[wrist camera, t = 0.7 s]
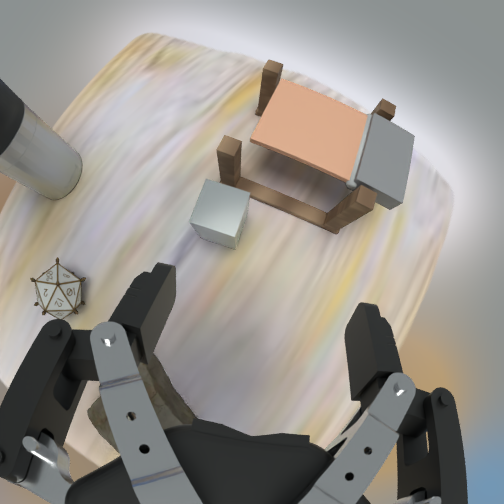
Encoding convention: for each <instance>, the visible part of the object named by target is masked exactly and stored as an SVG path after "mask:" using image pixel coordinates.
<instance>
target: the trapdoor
mask: <svg viewBox="0 0 504 504" xmlns="http://www.w3.org/2000/svg"><path fill="white" fill-rule="evenodd" d="M414 137H415V136H414V135H412V134H411V133H409V132H408V131H406V130H404V129H402V128H400V127H399V126H397V125H396V124H394V123H392V122H390V121H389V120H387V119H385V118H383V117H381V116H380V115H378V114H376V113H374V114H373V115H371V114H364V113H362V112H360V111H358V110H356V109H354V108H352V107H349V106H347V105H345V104H343V103H341V102H339V101H337V100H334V99H332V98H330V97H327V96H325V95H323V94H320V93H318V92H316V91H313V90H311V89H308V88H306V87H303V86H301V85H298V84H295V83H293V82H290V81H287V80H284V79H281V80H280V82H279V84H278V86H277V88H276V90H275V91H274V93H273V95H272V97H271V99H270V101H269V103H268V105H267V107H266V109H265V110H264V112H263V114H262V116H261V118H260V120H259V122H258V124H257V126H256V128H255V130H254V132H253V134H252V136H251V138H250V142H252V143H254V144H257V145H260V146H262V147H265V148H267V149H270V150H273V151H275V152H278V153H280V154H283V155H285V156H287V157H290V158H292V159H295V160H297V161H299V162H302V163H304V164H306V165H309V166H311V167H313V168H315V169H318V170H320V171H322V172H324V173H326V174H329V175H331V176H333V177H335V178H337V179H339V180H341V181H344V182H346V186H347V188H348V189H350V190H352V191H354V190H355V189H357V188H358V187H359V186H360V185H362V186H364V187H366V188H368V189H370V190H372V191H374V192H376V193H377V196H376V200H375V202H376V203H378V204H380V205H382V206H384V207H386V208H387V209H389V210H391V209H392V208H394V207H396V206H398V205H400V204H402V203H403V199H404V194H405V189H406V184H407V179H408V174H409V168H410V163H411V157H412V150H413V143H414Z"/></svg>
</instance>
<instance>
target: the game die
mask: <svg viewBox="0 0 504 504" xmlns="http://www.w3.org/2000/svg"><path fill="white" fill-rule="evenodd" d="M30 279H31V281H32V282H35V286H36V294H37V301H38V302H36V303H35V304H34V306H37V305H38V304H39V305H40V306H41V307H42V308H43V310H44V311H43V312H42V315H45V314H46V312H47V313H49V314H50V315H52V316H54V317H56V318H57V319H64V318H65V317H67V316H68V315H69V314H71V313H72V312H73V311H74V313H75V314H78V311H77V310H76V308H77V307H78V306H79V305H80V303H81V304H83V305H85V302H83V301H81V282H82V281H85V279H86V278H84V277H83V278H81V279H79V278H78V277H76V276H75V275H74V272H70V271H68V270H67V269H65V268H64V267H63V266H62V265H60V264H59V258H58V257H57V259H56V264H55V265H54V266H52V267H51V268H50V269H49V270H47V271H46V272H44V273H43V274H42V275H41V276H40V277H39V278H37V279H36V280H35V279H34V278H30Z"/></svg>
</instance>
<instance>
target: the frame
mask: <svg viewBox="0 0 504 504" xmlns="http://www.w3.org/2000/svg"><path fill="white" fill-rule="evenodd" d="M282 68H283V64H281V63H278V62H275V61H272V60H268V61H267V63H266V65H265V66H264V68H263V73H262V81H261V89H260V97H259V104H258V108H257V110H256V114H255V115H258V116H262V114H263V112H264V110H265V109H266V107H267V105H268V103H269V101H270V99H271V97H272V95H273V93H274V91H275V90H276V88H277V86H278V84H279V82H280V77H281V72H282ZM395 109H396V106H395V105H393V104H392V103H390V102H388V101H386V100H384V99H382V100H381V101H380V102H379V104H378V105H377V106H376V108H375V109H374V110H373V112H372V113H371V115H373V114H374V113H376V114H378V115H380V116H381V117H383V118H385V119H387V120H389V121H391V119H392V118H393V117H394V114H395ZM241 145H242V141H240V140H237V139H234V138H231V137H229V136H226V135H224V137H223V139H222V141H221V143H220V145H219V146H218V148H217V156H218V163H219V170H220V178H221V181H220V183H221V184H225V185H228V186H231V187H234V188H237V189H240V190H243V191H247V192H250V197H251V198H253V199H255V200H258V201H260V202H263V203H265V204H268V205H270V206H272V207H275V208H277V209H280V210H282V211H284V212H287V213H289V214H291V215H294V216H296V217H298V218H301V219H303V220H305V221H308V222H310V223H312V224H314V225H317V226H319V227H321V228H323V229H326V230H328V231H330V232H332V233H335V234H338V233H339V230H340V229H341V228H342V227H344V226H346V225H348V224H349V223H351V222H353V221H354V220H356V219H358V218H360V217H361V216H363V215H365V214H366V213H368V212H370V211H372V210H373V207H374V203H375V200H376V196H377V193H376V192H374V191H372V190H370V189H368V188H366V187H364V186H362V185H360V186H359V187H358V188H357V189H355V190H354V191H353V192H352V193H351V194H350V195H348V196H347V197H346V198H345V199H344V200H342V201H341V202H340V203H339V204H338V205H336V206H335V207H334V208H333V209H332V210H330V211H329V212H328V213H326V212H324V211H321V210H319V209H317V208H315V207H312V206H310V205H308V204H306V203H303V202H301V201H299V200H296V199H294V198H292V197H289V196H287V195H285V194H282V193H280V192H277V191H275V190H273V189H270V188H268V187H265V186H263V185H260V184H258V183H255V182H253V181H250V180H248V179H245V178H243V177H240V171H241Z"/></svg>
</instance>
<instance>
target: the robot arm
mask: <svg viewBox="0 0 504 504" xmlns="http://www.w3.org/2000/svg"><path fill="white" fill-rule="evenodd" d="M81 170H82V161H81V158H80V155H79V154H78V153H77V152H76V151H75V150H74V149H73V148H72V147H71V146H70V145H68V144H67V143H66V142H65V141H64V140H63V139H62V138H61V137H60V136H59V135H58V134H57V133H56V132H55V131H53V130H52V129H51V128H50V127H49V126H48V125H47V124H46V123H45V122H44V121H43V120H42V119H41V118H40V117H39V116H38V115H37V114H35V113H34V112H33V111H32V110H31V109H30V108H29V107H28V106H27V105H26V104H25V103H24V102H23V101H22V100H21V99H20V98H19V97H18V96H17V95H16V94H15V93H14V92H13V91H12V90H11V89H10V88H9V87H8V86H7V85H6V84H5V83H4V82H3V81H2V80H1V79H0V172H1V173H2V174H4V175H6V176H8V177H10V178H12V179H13V180H15V181H17V182H19V183H21V184H23V185H24V186H26V187H28V188H30V189H32V190H34V191H36V192H37V193H39V194H41V195H43V196H45V197H47V198H49V199H53V200H56V199H60V198H63V197H64V196H66V195H67V194H68V193H69V192H70V191H71V190H72V189H73V188H74V187H75V185H76V183H77V182H78V180H79V177H80V174H81ZM175 297H176V268H175V266H173V265H168V264H164V263H159V262H158V263H157V264H156V265H155V267H154V269H153V270H152V272H151V273H149V272H145V271H144V272H143V273H141V274H140V275H139V276H137V277H136V278H135V279H134V280H133V282H132V284H131V285H130V288H128V290H127V291H126V293H125V295H124V296H123V298H122V299H121V301H120V303H119V304H118V306H117V307H116V309H115V311H114V312H113V314H112V316H111V317H110V319H109V320H108V322H103V323H100V324H99V325H97V326H96V327H95V328H94V329H93V330H73V329H71V327H70V325H69V323H68V322H66V321H65V320H62V319H54V320H51V321H49V322H47V323H46V324H45V325H44V326H43V328H42V329H41V331H40V332H39V334H38V336H37V337H36V339H35V341H34V342H33V344H32V346H31V348H30V349H29V351H28V353H27V355H26V356H25V358H24V360H23V362H22V364H21V365H20V367H19V369H18V371H17V373H16V375H15V377H14V379H13V381H12V383H11V385H10V387H9V389H8V391H7V393H6V395H5V397H4V400H3V402H2V404H1V406H0V477H1V478H4V479H6V480H7V481H8V482H11V483H13V484H15V485H18V486H20V487H23V488H25V489H27V490H29V491H31V492H32V493H34V494H36V495H37V496H39V497H41V498H42V499H44V500H46V501H48V502H50V503H51V504H370V502H369V501H368V500H367V499H366V497H365V496H364V495H363V493H364V492H365V490H366V489H367V487H368V486H369V485H370V483H371V482H372V480H373V479H374V477H375V476H376V474H377V473H378V471H379V470H380V468H381V466H382V465H383V463H384V461H385V460H386V459H387V457H388V455H389V454H390V452H391V450H392V448H393V447H394V445H395V443H397V467H398V496H397V501H396V502H395V503H394V504H468V500H467V499H468V497H467V480H466V467H465V458H464V450H463V443H462V436H461V430H460V424H459V419H458V414H457V409H456V404H455V400H454V397H453V396H452V394H451V393H450V392H449V391H448V390H447V389H445V388H441V387H440V388H436V389H435V390H434V391H433V392H431V393H428V392H425V391H423V390H420V389H417V388H415V385H414V383H413V381H412V380H411V378H410V377H408V376H407V375H405V374H403V371H402V367H401V363H400V358H399V355H398V351H397V347H396V346H395V344H396V343H395V339H394V338H393V337H394V336H393V332H392V329H391V326H390V325H389V323H388V322H387V320H386V319H385V318H384V317H381V316H380V312H379V309H378V306H377V305H375V304H369V303H362V302H361V303H359V304H358V306H357V308H356V310H355V312H354V314H353V315H352V317H351V319H350V321H349V323H348V324H347V327H346V330H345V346H346V354H347V362H348V371H349V381H350V391H351V400H352V401H360V402H361V406H360V407H359V408H358V409H357V411H356V412H355V414H354V415H353V416H352V418H351V419H350V420H349V422H348V423H347V424H346V426H345V427H344V428H343V429H342V431H341V432H340V433H339V435H338V436H337V437H336V438H335V439H334V440H333V441H332V442H331V443H330V444H329V445H328V446H327V447H326V448H325V449H323V448H321V447H319V446H318V445H315V444H313V443H310V442H309V437H310V435H297V434H285V433H279V434H271V435H261V436H249V435H247V434H244V433H242V432H239V431H237V430H234V429H232V428H230V427H227V426H225V425H223V424H218V423H214V422H209V421H204V420H200V419H196V418H193V422H192V424H184V425H177V426H172V427H169V428H166V429H164V430H163V429H162V427H161V424H160V422H159V420H158V418H157V415H156V413H155V411H154V408H153V406H152V404H151V401H150V399H149V396H148V394H147V391H146V389H145V386H144V383H143V381H142V378H141V376H140V374H139V371H138V366H139V364H140V362H141V363H144V364H147V365H148V364H149V361H150V359H151V356H152V354H153V352H154V349H155V347H156V344H157V342H158V340H159V337H160V335H161V333H162V330H163V328H164V326H165V324H166V321H167V319H168V317H169V314H170V312H171V310H172V308H173V305H174V302H175ZM88 380H90V381H100V386H99V390H100V395H101V398H102V402H103V405H104V409H105V412H106V415H107V418H108V421H109V424H110V428H111V430H112V433H113V436H114V439H115V442H116V445H117V447H118V450H119V452H120V455H121V456H119V457H118V458H116V459H114V460H113V461H111V462H109V463H107V464H106V465H104V466H102V467H100V468H98V469H97V470H95V471H93V472H91V473H89V474H87V475H85V476H83V477H81V478H80V479H78V480H77V481H75V482H74V481H73V480H72V479H71V476H70V473H69V466H70V458H69V455H68V453H67V451H66V450H65V449H64V448H63V444H64V442H65V439H66V436H67V433H68V430H69V427H70V424H71V422H72V419H73V416H74V414H75V411H76V408H77V406H78V403H79V401H80V398H81V396H82V393H83V391H84V388H85V386H86V383H87V381H88ZM426 432H428V441H429V452H428V449H427V440H426Z"/></svg>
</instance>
